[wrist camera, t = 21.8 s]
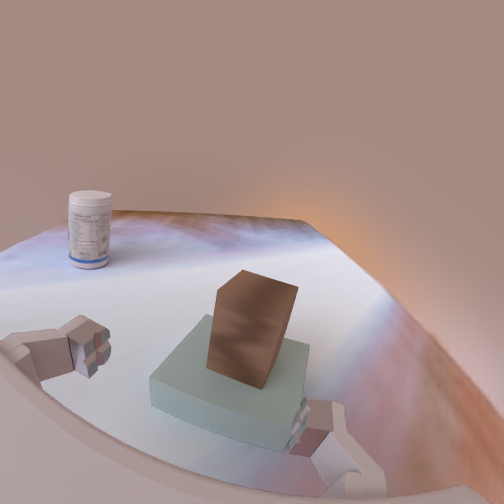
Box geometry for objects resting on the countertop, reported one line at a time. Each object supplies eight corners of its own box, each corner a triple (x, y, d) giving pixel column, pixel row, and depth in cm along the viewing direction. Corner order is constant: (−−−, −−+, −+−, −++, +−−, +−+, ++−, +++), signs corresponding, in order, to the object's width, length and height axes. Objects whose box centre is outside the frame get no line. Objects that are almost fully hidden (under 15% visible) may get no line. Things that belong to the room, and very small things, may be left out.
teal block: (151, 407, 24) (149, 376, 22) (202, 343, 37) (206, 314, 35) (280, 454, 21) (295, 428, 20) (298, 373, 34) (309, 344, 33)
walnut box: (205, 367, 25) (217, 289, 23) (228, 339, 31) (242, 269, 28) (262, 389, 24) (286, 312, 21) (277, 356, 29) (298, 287, 27)
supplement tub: (72, 253, 53) (73, 189, 49) (109, 254, 58) (113, 191, 53) (66, 270, 45) (65, 197, 41) (109, 271, 50) (112, 198, 45)
